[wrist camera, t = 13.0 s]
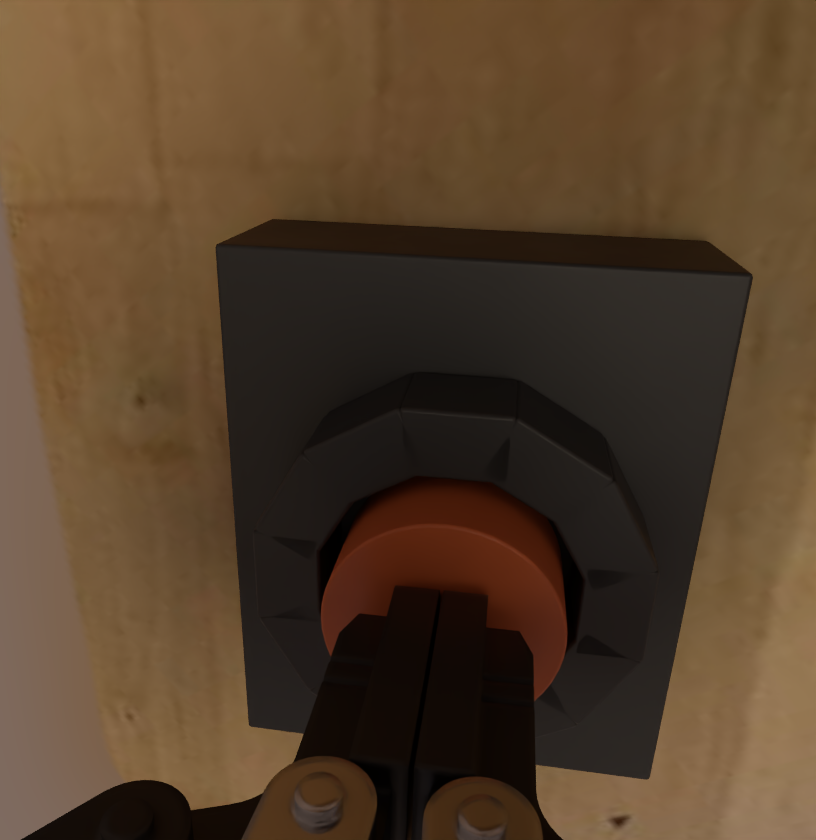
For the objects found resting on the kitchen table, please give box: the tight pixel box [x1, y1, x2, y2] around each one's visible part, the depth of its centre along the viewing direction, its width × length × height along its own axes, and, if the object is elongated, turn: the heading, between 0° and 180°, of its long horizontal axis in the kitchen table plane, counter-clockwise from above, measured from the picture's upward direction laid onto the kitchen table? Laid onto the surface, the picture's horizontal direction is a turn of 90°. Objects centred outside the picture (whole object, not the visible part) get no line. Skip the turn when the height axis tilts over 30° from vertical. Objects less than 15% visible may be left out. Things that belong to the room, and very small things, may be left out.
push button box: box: [216, 219, 753, 779], centre depth 15 cm, size 11×9×5 cm
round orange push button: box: [321, 476, 568, 701], centre depth 13 cm, size 4×4×2 cm
